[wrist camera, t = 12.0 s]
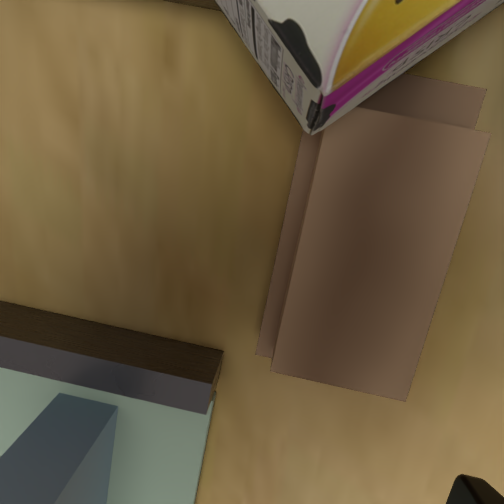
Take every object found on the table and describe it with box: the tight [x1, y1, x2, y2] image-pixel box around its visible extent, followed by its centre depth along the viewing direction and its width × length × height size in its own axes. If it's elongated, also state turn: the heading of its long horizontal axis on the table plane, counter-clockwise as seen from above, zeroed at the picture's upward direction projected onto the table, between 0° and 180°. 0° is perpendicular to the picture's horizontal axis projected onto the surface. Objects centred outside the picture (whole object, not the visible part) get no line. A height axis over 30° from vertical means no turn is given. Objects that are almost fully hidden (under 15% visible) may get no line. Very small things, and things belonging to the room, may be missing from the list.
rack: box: [0, 0, 224, 415], centre depth 19 cm, size 15×18×5 cm
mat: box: [0, 367, 216, 504], centre depth 25 cm, size 12×15×1 cm
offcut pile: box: [255, 73, 491, 402], centre depth 19 cm, size 6×12×4 cm, turn 169°
